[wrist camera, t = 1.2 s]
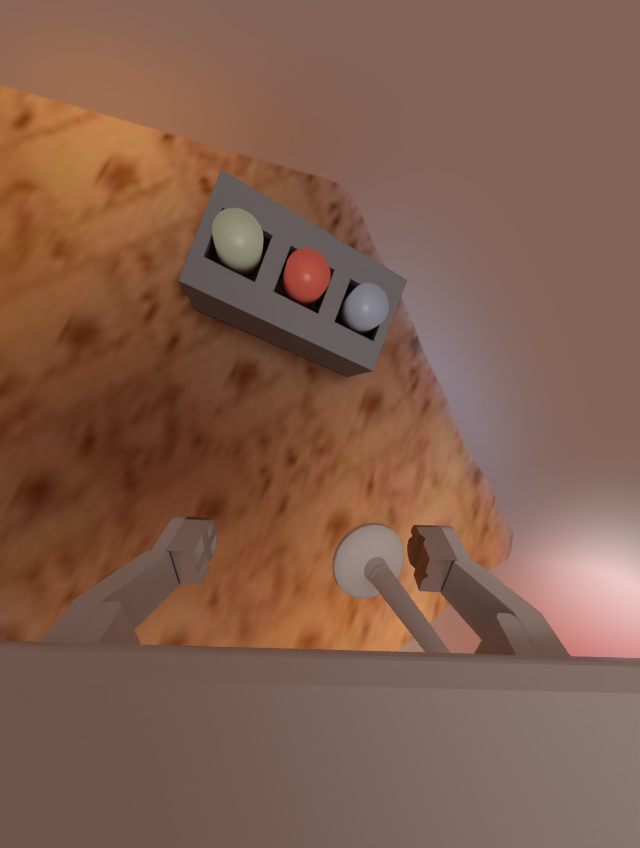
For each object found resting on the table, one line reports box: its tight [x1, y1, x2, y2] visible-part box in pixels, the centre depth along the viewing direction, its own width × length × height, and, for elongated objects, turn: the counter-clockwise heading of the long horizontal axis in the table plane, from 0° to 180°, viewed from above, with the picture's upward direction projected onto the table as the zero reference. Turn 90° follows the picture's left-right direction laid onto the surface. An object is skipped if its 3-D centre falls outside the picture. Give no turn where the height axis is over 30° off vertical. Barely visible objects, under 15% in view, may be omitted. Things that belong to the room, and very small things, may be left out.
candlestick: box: [333, 523, 450, 653], centre depth 31 cm, size 13×13×30 cm
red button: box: [282, 248, 331, 307], centre depth 30 cm, size 5×5×4 cm
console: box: [179, 170, 407, 377], centre depth 35 cm, size 23×12×9 cm, turn 69°
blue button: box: [339, 283, 389, 334], centre depth 32 cm, size 5×5×4 cm
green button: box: [212, 208, 263, 276], centre depth 28 cm, size 5×5×4 cm
